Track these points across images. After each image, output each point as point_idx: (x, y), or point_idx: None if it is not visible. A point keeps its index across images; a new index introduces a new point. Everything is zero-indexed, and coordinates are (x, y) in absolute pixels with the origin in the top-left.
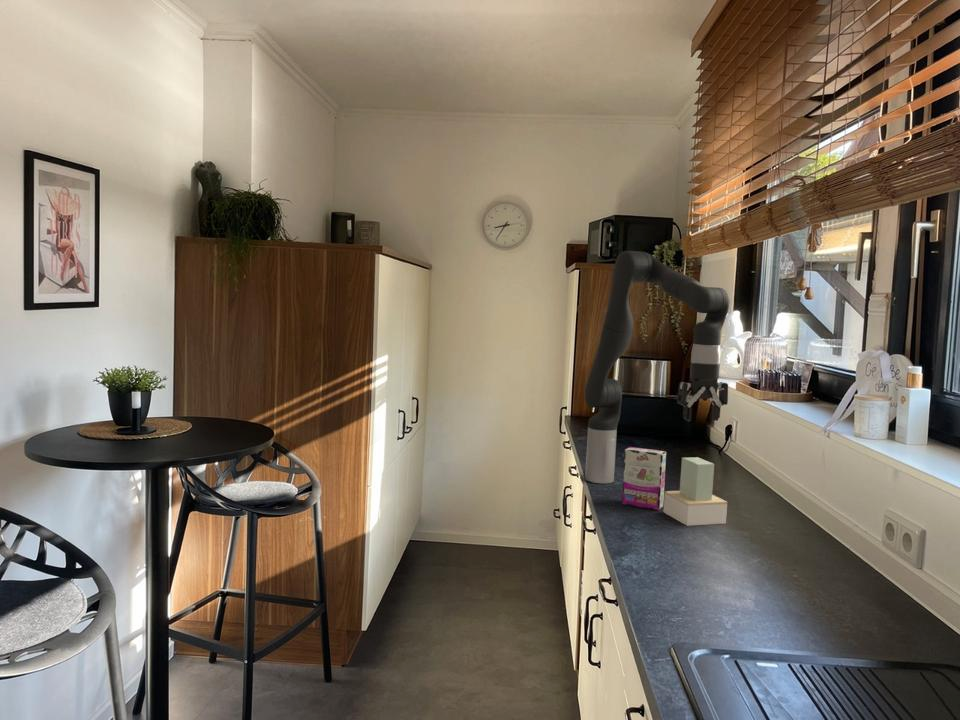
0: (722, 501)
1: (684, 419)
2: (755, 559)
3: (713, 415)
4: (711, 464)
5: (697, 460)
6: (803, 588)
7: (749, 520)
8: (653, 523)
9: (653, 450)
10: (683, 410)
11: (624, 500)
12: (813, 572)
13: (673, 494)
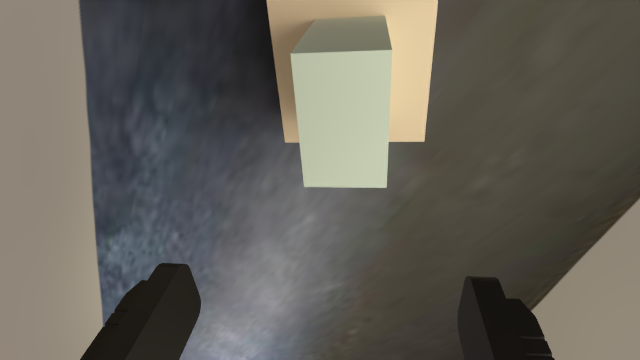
0: (410, 136)
1: (162, 265)
2: (332, 284)
3: (473, 331)
4: (371, 187)
5: (344, 119)
6: (333, 355)
7: (511, 98)
8: (214, 85)
9: None
10: (90, 348)
11: None
12: (390, 331)
13: (281, 38)
